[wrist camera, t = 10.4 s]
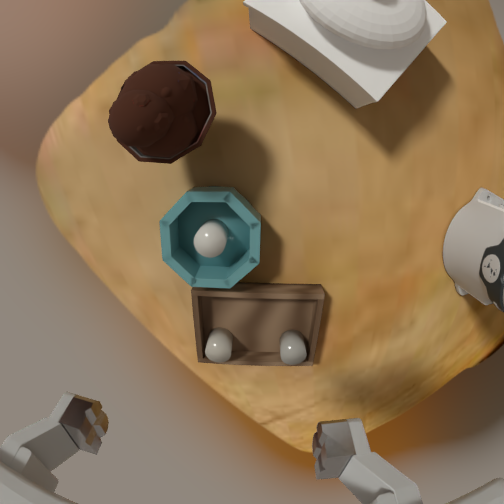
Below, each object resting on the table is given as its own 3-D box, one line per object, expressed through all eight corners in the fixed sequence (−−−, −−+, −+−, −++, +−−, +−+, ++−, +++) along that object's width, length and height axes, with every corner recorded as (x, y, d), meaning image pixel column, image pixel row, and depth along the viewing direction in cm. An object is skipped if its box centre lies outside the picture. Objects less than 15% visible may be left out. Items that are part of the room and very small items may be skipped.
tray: (320, 284, 41) (324, 294, 38) (309, 353, 46) (312, 365, 43) (195, 280, 41) (191, 290, 39) (201, 350, 46) (198, 362, 43)
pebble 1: (228, 218, 37) (225, 227, 34) (229, 246, 39) (225, 257, 35) (199, 218, 37) (192, 226, 34) (200, 246, 39) (194, 257, 35)
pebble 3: (304, 329, 43) (308, 345, 40) (302, 348, 45) (305, 364, 41) (280, 329, 43) (281, 345, 40) (278, 348, 45) (279, 364, 41)
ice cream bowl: (221, 162, 36) (197, 172, 22) (140, 155, 35) (77, 164, 21) (233, 82, 32) (216, 43, 18) (150, 79, 32) (93, 50, 18)
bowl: (261, 186, 37) (261, 192, 32) (258, 273, 41) (258, 289, 36) (169, 186, 37) (157, 192, 32) (174, 270, 41) (165, 285, 36)
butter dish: (418, 37, 28) (480, 5, 13) (352, 111, 33) (410, 93, 18) (324, -36, 24) (349, -97, 9) (246, 31, 29) (238, -32, 14)
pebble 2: (233, 327, 44) (230, 343, 40) (233, 347, 45) (231, 363, 41) (208, 326, 44) (204, 342, 40) (209, 345, 45) (205, 361, 41)
